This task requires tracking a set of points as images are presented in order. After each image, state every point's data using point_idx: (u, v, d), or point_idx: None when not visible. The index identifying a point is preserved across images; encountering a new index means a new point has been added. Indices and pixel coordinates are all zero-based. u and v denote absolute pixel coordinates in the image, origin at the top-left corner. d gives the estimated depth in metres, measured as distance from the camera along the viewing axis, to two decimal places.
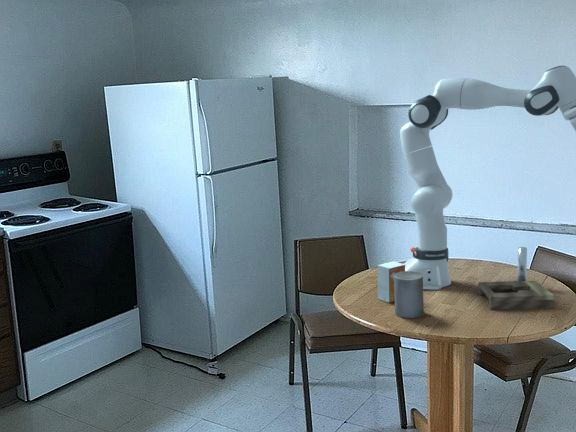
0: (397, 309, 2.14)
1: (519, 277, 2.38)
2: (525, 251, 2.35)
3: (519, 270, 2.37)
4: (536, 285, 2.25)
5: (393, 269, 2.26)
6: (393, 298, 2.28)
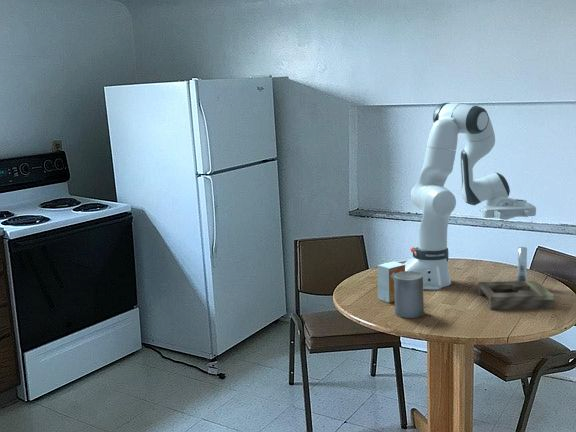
0: (397, 309, 2.14)
1: (519, 277, 2.38)
2: (525, 251, 2.35)
3: (519, 270, 2.37)
4: (536, 285, 2.25)
5: (393, 269, 2.26)
6: (393, 298, 2.28)
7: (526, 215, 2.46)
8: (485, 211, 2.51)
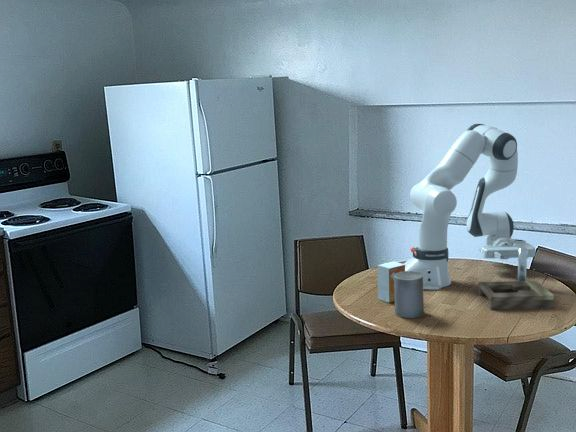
0: (397, 309, 2.14)
1: (519, 277, 2.38)
2: (525, 251, 2.35)
3: (519, 270, 2.37)
4: (536, 285, 2.25)
5: (393, 269, 2.26)
6: (393, 298, 2.28)
7: None
8: (485, 252, 2.52)
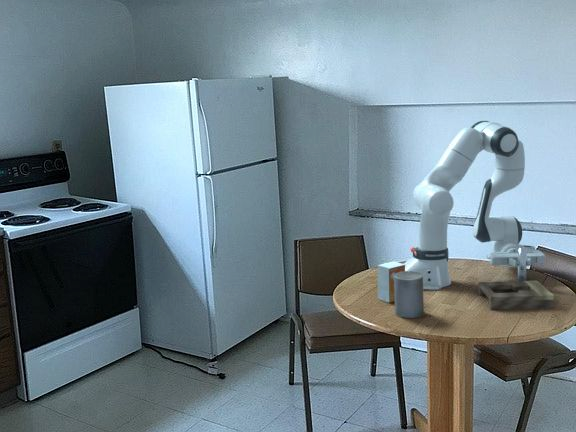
0: (397, 309, 2.14)
1: (519, 277, 2.38)
2: (525, 251, 2.35)
3: (519, 270, 2.37)
4: (536, 285, 2.25)
5: (393, 269, 2.26)
6: (393, 298, 2.28)
7: (529, 264, 2.36)
8: (493, 258, 2.42)
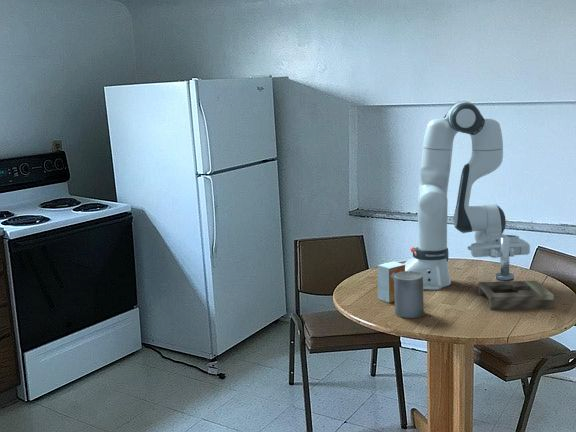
0: (397, 309, 2.14)
1: (502, 269, 2.21)
2: (507, 241, 2.18)
3: (502, 261, 2.20)
4: (536, 285, 2.25)
5: (393, 269, 2.26)
6: (393, 298, 2.28)
7: (512, 255, 2.20)
8: (473, 250, 2.25)
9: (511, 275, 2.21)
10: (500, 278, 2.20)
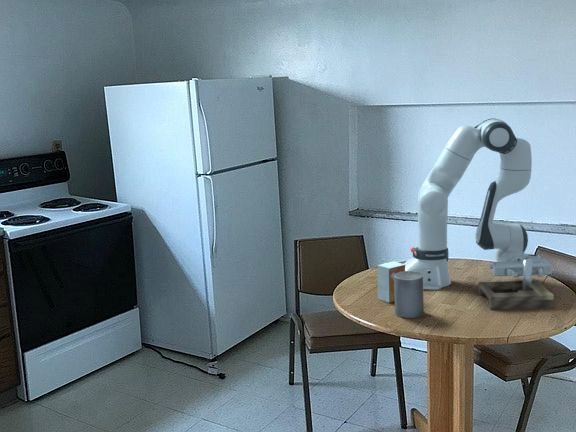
0: (397, 309, 2.14)
1: None
2: (530, 263, 2.20)
3: (524, 283, 2.22)
4: (536, 285, 2.25)
5: (393, 269, 2.26)
6: (393, 298, 2.28)
7: (540, 275, 2.21)
8: (496, 269, 2.26)
9: None
10: None
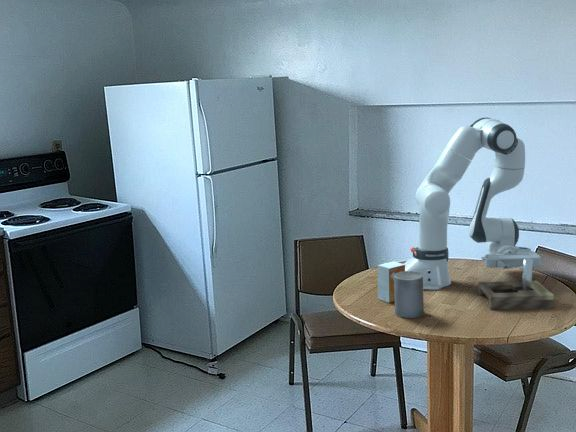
0: (397, 309, 2.14)
1: None
2: (530, 263, 2.20)
3: (524, 283, 2.22)
4: (536, 285, 2.25)
5: (393, 269, 2.26)
6: (393, 298, 2.28)
7: None
8: (487, 260, 2.37)
9: None
10: None
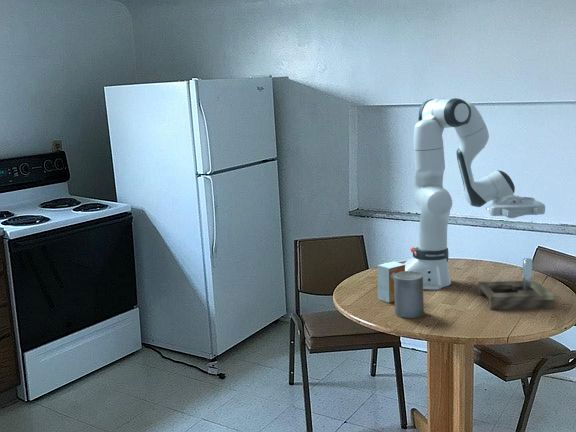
0: (397, 309, 2.14)
1: None
2: (530, 263, 2.20)
3: (524, 283, 2.22)
4: (536, 285, 2.25)
5: (393, 269, 2.26)
6: (393, 298, 2.28)
7: (535, 213, 2.35)
8: (492, 209, 2.40)
9: None
10: None
